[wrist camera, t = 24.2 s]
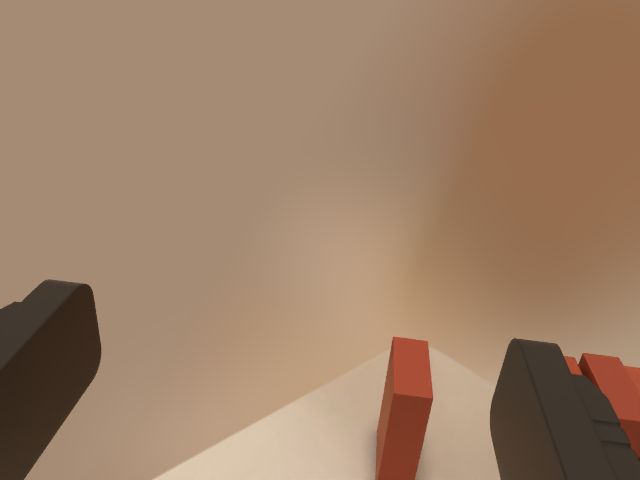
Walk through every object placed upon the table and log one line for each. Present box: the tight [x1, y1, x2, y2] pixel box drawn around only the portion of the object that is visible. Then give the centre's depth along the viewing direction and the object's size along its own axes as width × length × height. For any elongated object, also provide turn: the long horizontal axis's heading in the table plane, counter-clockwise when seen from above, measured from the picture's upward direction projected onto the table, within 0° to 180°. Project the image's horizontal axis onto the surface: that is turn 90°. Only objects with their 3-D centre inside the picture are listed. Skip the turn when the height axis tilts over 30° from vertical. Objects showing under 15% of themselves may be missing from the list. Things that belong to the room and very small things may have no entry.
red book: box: [376, 337, 433, 480], centre depth 40 cm, size 3×6×10 cm, turn 173°
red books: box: [564, 353, 640, 461], centre depth 39 cm, size 9×6×10 cm
